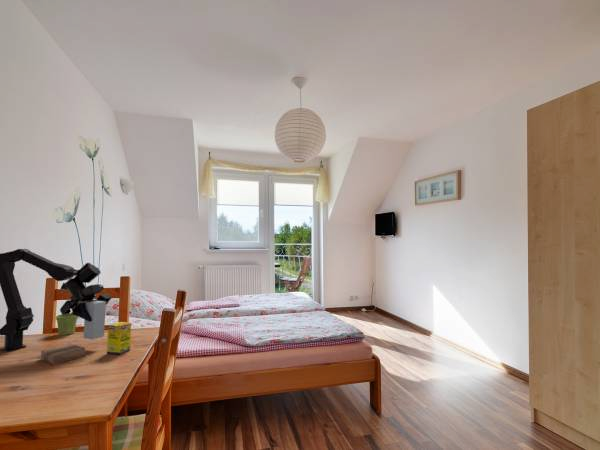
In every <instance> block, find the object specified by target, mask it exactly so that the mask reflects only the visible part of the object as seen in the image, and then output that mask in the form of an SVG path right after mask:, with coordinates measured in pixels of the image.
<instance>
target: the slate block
mask: <svg viewBox="0 0 600 450" xmlns="http://www.w3.org/2000/svg"><path fill="white" fill-rule="evenodd" d="M106 306H107V304H106V302H105V301H92V302H86V310H87V311H88V313H89V315H90V316H91V319H92V321H91V322H89V321H87V320H85V319H83V320H84V324H83V325H84V326H83V336H82V337H83V339H87V340H96V339H100V338H103V337H105V327H106V324H105V322H106V310H107V309H106V308H107V307H106Z"/></svg>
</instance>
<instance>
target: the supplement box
mask: <svg viewBox="0 0 600 450" xmlns="http://www.w3.org/2000/svg"><path fill="white" fill-rule="evenodd" d="M131 331H132V322H130V321H129V322H128V321H127V322H126V321H117V322H114V323H113V324H112V323H111V324H108V325H107V345H106V354H109V355H122V354H124V353H126V352H129V351H130V350H131V337H132V336H131V333H132V332H131Z"/></svg>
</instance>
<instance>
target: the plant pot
mask: <svg viewBox="0 0 600 450" xmlns="http://www.w3.org/2000/svg"><path fill="white" fill-rule="evenodd" d="M71 313H72V312H70V313H69V314H66V315H62V313H61V314H58V315H55V316H54V318H55V319H56V324H57V332H58V335H60V336H67V335H73V334H74V333H76V332H75V331H76V327H77V321H78V318H79V317H78V316H76V315H71Z"/></svg>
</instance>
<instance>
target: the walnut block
mask: <svg viewBox="0 0 600 450" xmlns="http://www.w3.org/2000/svg"><path fill="white" fill-rule="evenodd" d="M85 354H86V347H84V346H80V345H77V344H74V343H69V344H65V345H60V346H56V347H53V348H52V347H51V348H48V349H44V350H43V349H42V350H41V352H40V360H41V361H45V362H48V363H51V364H53V365H56V364H60V363H63V362H64V363H65V362H66V361H67V362H68V361H70V360H74V359H78V358H81V357H85V356H86V355H85Z"/></svg>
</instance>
